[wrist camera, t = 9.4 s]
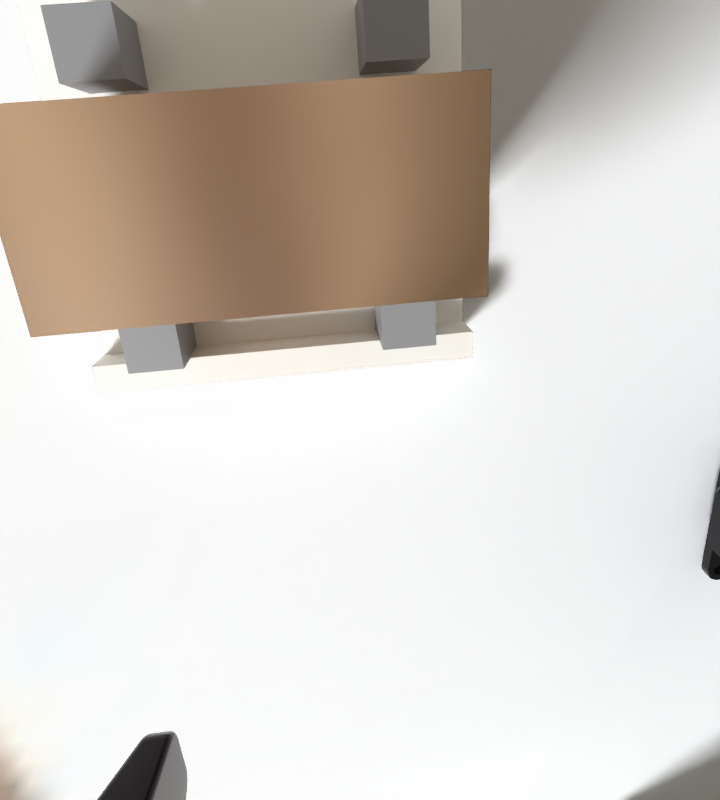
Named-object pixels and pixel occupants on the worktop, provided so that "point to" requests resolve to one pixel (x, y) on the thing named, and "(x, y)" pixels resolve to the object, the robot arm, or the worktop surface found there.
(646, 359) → the worktop surface
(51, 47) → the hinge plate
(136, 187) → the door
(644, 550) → the worktop surface
